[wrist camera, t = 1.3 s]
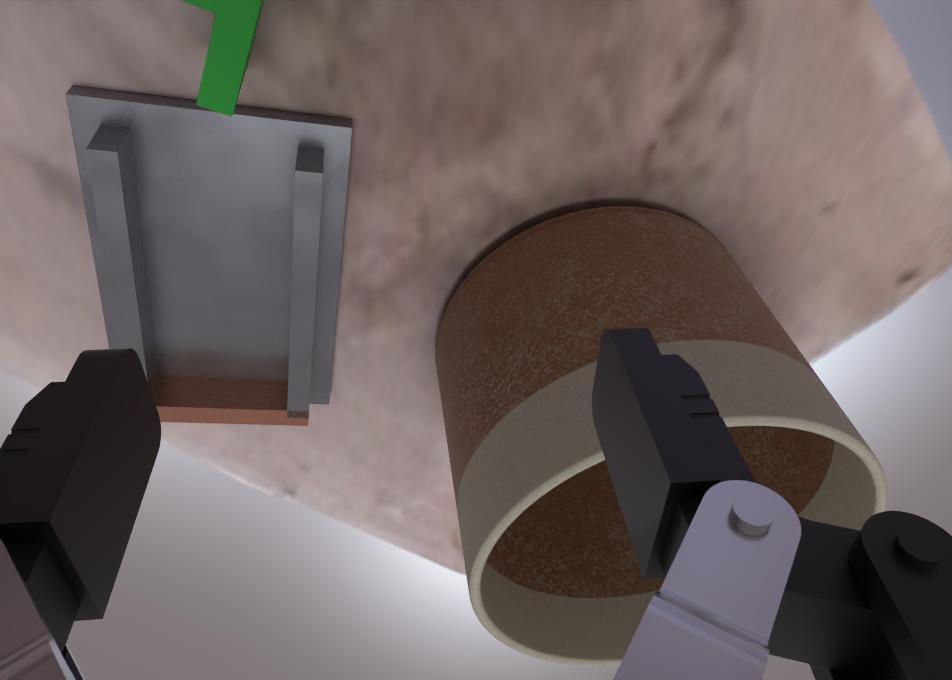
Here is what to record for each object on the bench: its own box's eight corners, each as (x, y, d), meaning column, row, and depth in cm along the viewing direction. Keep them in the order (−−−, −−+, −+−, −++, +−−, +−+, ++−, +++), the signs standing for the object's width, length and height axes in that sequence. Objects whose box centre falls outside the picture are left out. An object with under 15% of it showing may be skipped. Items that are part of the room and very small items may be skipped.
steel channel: (121, 385, 35) (107, 427, 33) (72, 85, 26) (48, 117, 24) (329, 393, 38) (328, 433, 36) (351, 119, 28) (352, 151, 26)
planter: (602, 127, 30) (738, 340, 20) (792, 307, 38) (958, 524, 28) (369, 358, 37) (379, 610, 26) (574, 470, 45) (644, 695, 34)
